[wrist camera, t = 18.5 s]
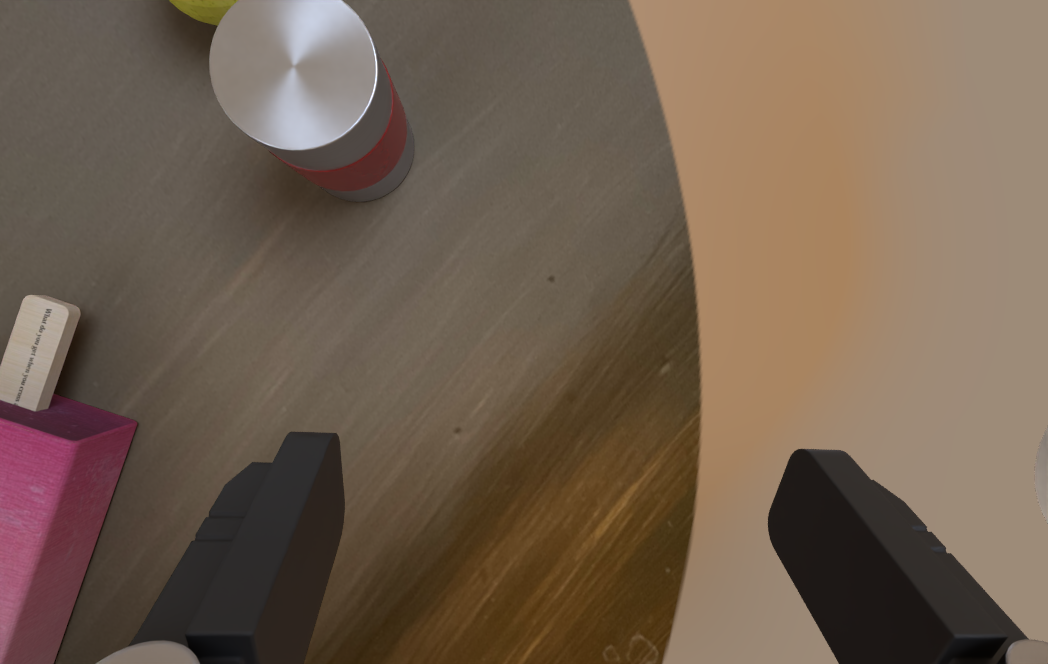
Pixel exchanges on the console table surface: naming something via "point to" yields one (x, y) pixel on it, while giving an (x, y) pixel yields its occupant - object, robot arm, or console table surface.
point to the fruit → (205, 9)
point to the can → (313, 93)
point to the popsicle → (48, 482)
